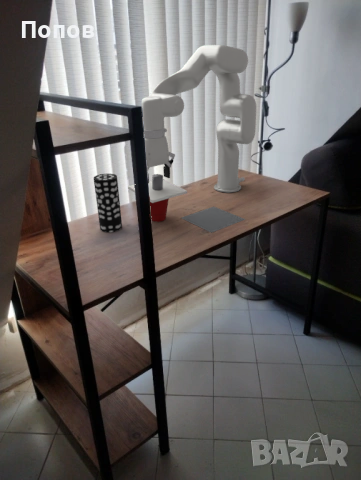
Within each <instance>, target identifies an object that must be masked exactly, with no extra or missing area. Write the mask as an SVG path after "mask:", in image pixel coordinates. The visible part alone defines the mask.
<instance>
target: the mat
mask: <svg viewBox="0 0 361 480" xmlns="http://www.w3.org/2000/svg"><path fill="white" fill-rule="evenodd" d="M180 219H182V220H184V221H186V222H189V223H191V224H192V225H195V226H197V227H198V228H201V229H203V230H205V231H207V232H208V233H215V232H218V231H219V230H223V229H225V228H228V227H230V226H232V225H235V224H237V223H240V222H243V221H245V220H246V218H243V217H241V216H238V215H236V214H233V213H231V212H229V211H226V210H224V209H221V208H219V207H216V206H211V207H209V208H206V209H202V210H200V211H197V212H194V213H190V214H187V215H184V216H182V217H180Z"/></svg>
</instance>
